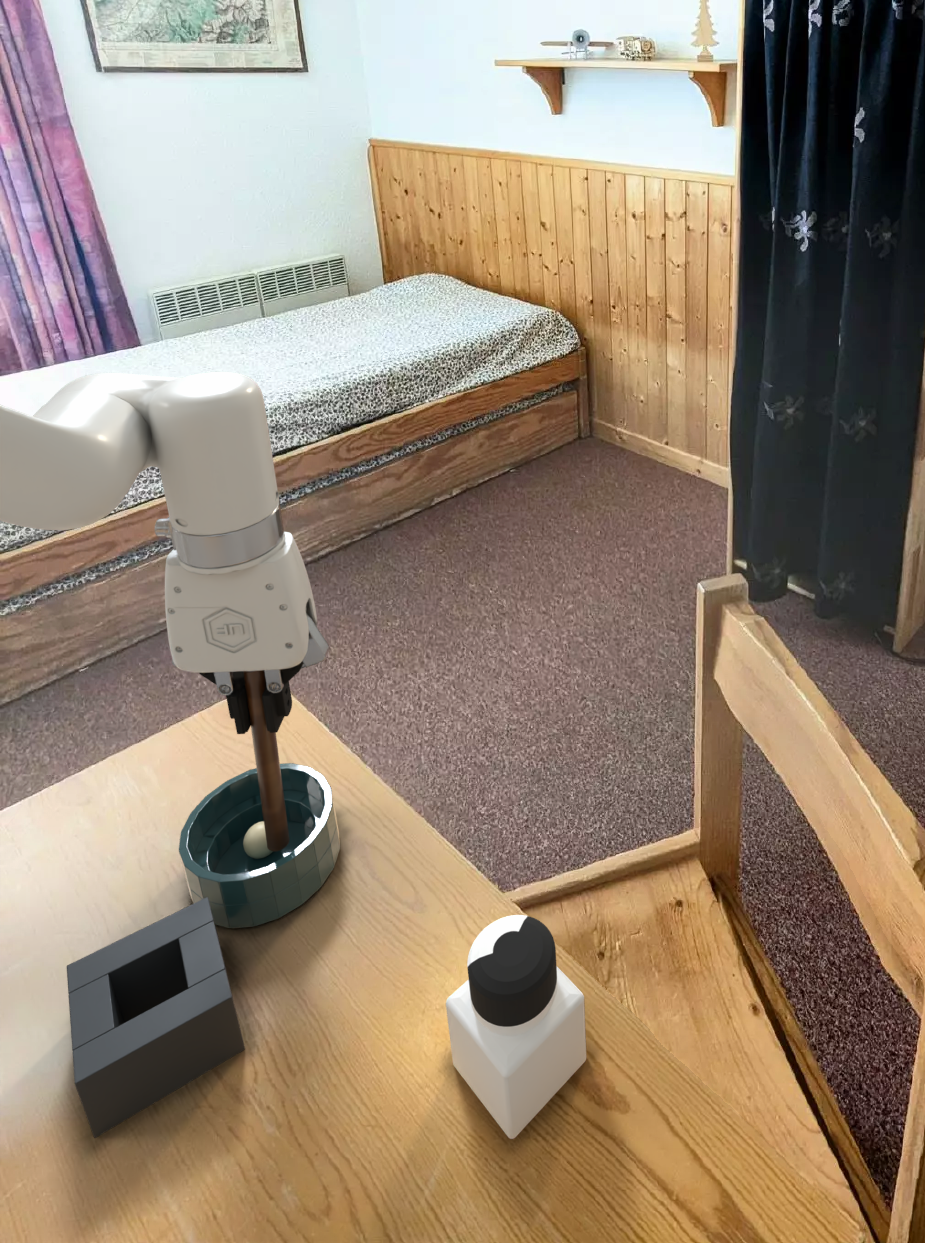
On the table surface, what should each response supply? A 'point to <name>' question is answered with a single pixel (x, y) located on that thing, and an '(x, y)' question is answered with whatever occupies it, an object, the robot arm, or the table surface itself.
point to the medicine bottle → (516, 1021)
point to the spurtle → (266, 764)
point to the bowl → (263, 884)
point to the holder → (150, 1015)
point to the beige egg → (256, 841)
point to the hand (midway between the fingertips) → (263, 720)
